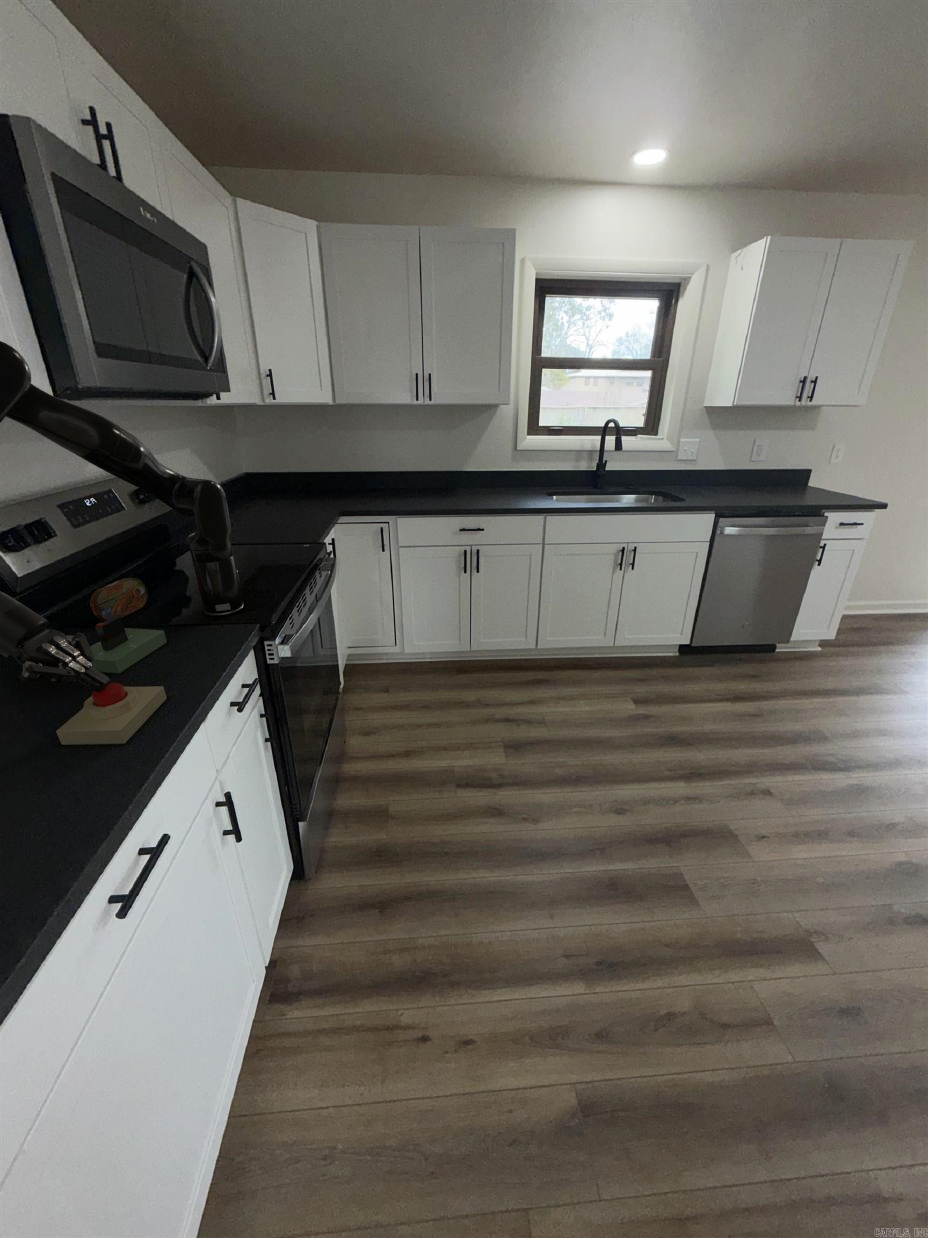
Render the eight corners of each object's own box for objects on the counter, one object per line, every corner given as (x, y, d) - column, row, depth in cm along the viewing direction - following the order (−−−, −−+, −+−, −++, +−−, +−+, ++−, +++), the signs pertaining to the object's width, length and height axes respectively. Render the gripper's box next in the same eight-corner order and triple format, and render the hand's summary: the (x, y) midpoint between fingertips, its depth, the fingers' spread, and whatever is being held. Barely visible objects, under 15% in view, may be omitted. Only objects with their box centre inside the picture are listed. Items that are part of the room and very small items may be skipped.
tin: (104, 626, 120) (94, 594, 116) (93, 625, 120) (82, 593, 117) (152, 603, 133) (143, 573, 130) (142, 602, 134) (133, 572, 130)
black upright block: (121, 639, 107) (113, 615, 104) (128, 639, 106) (120, 615, 104) (103, 650, 102) (94, 625, 100) (109, 650, 102) (101, 625, 100)
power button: (106, 693, 85) (102, 683, 85) (131, 692, 86) (128, 682, 85) (88, 707, 81) (85, 697, 81) (116, 707, 82) (112, 696, 81)
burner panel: (127, 639, 113) (123, 627, 112) (167, 642, 112) (163, 629, 111) (75, 670, 101) (70, 656, 100) (119, 673, 99) (114, 659, 98)
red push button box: (112, 699, 91) (104, 678, 89) (167, 698, 91) (160, 677, 89) (61, 745, 79) (51, 721, 77) (124, 743, 79) (116, 720, 77)
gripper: (-25, 623, 70) (92, 694, 75) (42, 590, 82) (139, 653, 87) (-49, 657, 72) (67, 724, 77) (21, 620, 84) (117, 680, 89)
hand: (105, 686), depth 82 cm, fingers closed
